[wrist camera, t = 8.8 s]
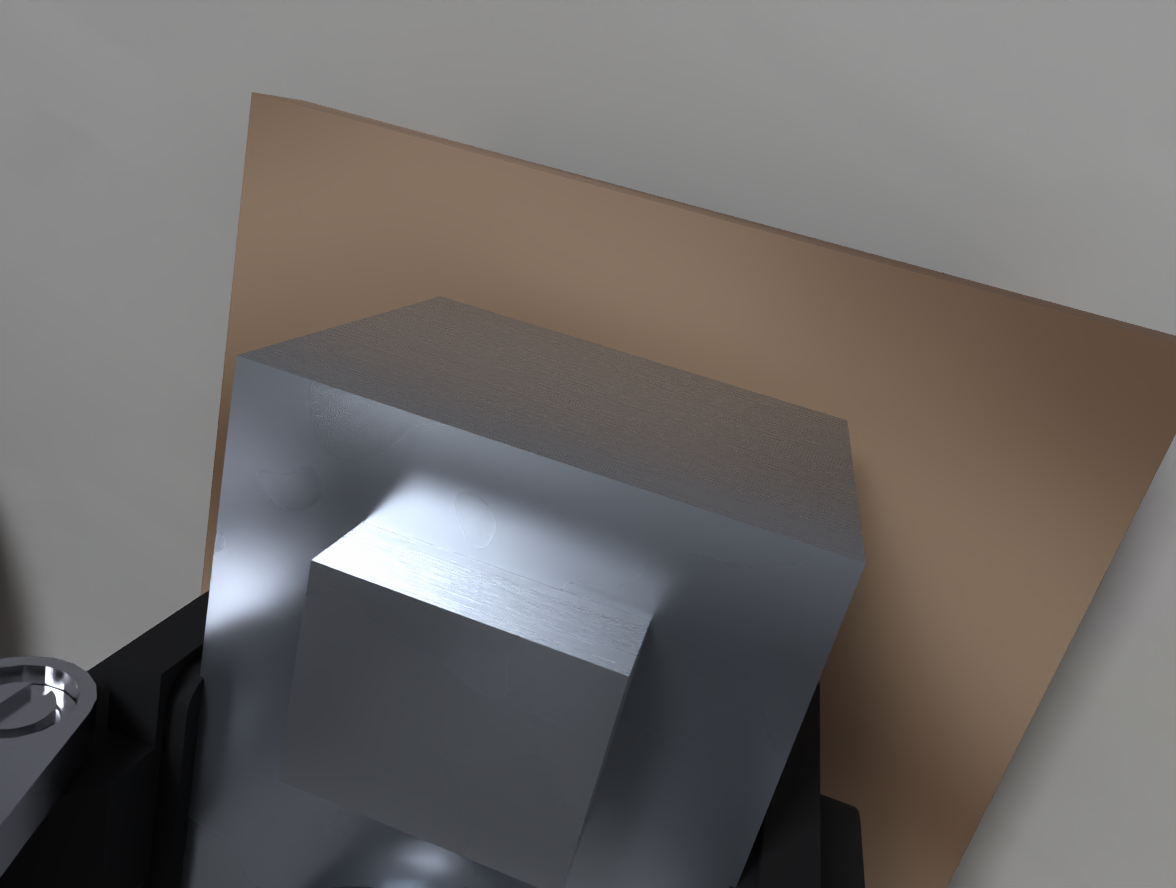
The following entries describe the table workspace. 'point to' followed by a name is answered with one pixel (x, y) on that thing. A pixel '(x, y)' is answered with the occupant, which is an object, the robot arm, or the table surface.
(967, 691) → the stand
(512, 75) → the table surface
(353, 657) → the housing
